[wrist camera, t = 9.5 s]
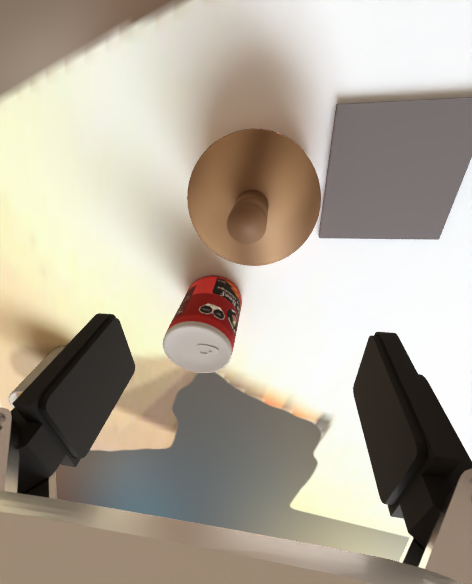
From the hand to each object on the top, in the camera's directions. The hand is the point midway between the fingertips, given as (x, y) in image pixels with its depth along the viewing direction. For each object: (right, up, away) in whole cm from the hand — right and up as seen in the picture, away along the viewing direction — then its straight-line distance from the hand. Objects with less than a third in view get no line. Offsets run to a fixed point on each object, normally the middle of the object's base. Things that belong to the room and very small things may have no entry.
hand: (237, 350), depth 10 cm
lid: (+2, +11, +15) cm, 18 cm away
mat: (+16, +14, +18) cm, 28 cm away
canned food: (-3, +2, +29) cm, 29 cm away
